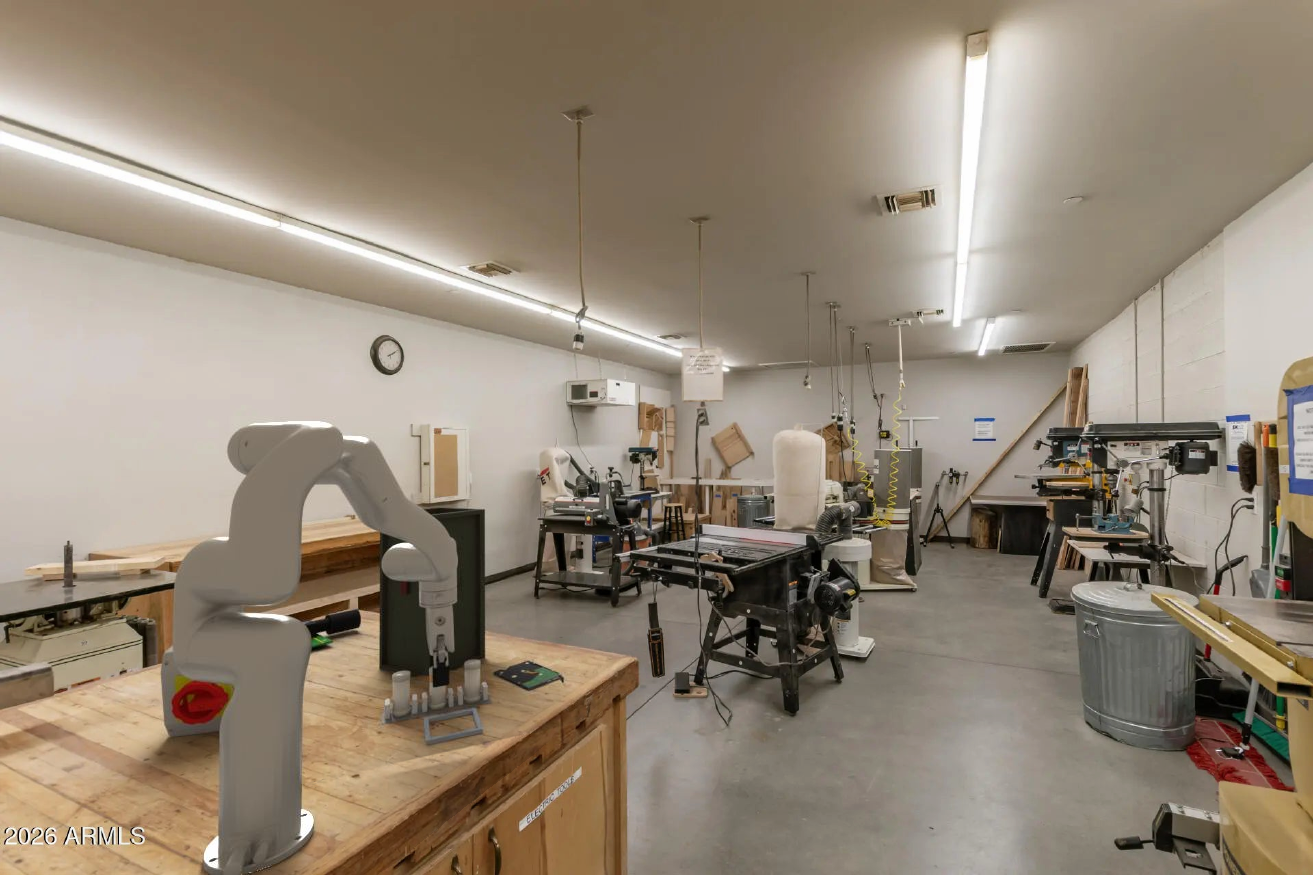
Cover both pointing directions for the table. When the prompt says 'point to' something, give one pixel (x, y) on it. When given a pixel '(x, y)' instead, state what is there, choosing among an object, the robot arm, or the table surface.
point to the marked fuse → (436, 695)
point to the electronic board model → (332, 625)
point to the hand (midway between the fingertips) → (439, 676)
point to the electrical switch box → (191, 701)
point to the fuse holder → (424, 710)
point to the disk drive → (528, 675)
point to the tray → (452, 735)
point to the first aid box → (407, 620)
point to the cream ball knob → (472, 681)
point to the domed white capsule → (401, 693)
